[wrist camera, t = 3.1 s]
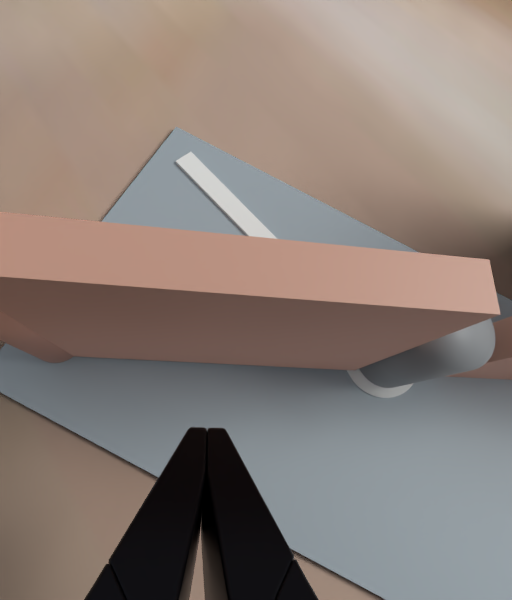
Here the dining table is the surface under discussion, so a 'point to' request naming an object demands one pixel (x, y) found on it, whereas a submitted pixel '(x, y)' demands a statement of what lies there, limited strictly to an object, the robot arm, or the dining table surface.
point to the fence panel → (240, 300)
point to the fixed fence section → (496, 355)
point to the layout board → (304, 410)
